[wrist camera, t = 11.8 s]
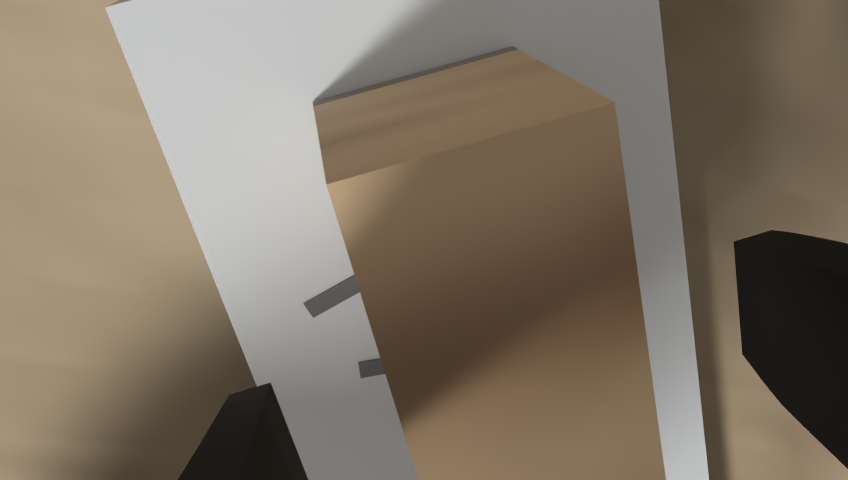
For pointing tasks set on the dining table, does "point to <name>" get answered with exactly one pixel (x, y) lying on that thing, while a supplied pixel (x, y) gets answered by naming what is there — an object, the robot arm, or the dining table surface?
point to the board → (312, 207)
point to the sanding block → (497, 269)
